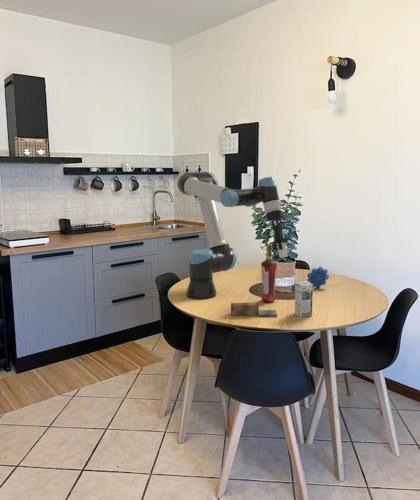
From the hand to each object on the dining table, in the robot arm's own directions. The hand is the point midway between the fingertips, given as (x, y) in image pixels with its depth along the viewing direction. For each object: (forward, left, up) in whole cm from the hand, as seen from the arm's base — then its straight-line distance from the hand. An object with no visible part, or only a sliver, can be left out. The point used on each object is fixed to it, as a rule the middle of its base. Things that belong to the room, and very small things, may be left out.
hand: (284, 257), depth 198 cm
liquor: (-5, +13, -25) cm, 29 cm away
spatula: (-14, -7, -25) cm, 29 cm away
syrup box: (+8, -7, -25) cm, 27 cm away
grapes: (+24, +36, -25) cm, 50 cm away
